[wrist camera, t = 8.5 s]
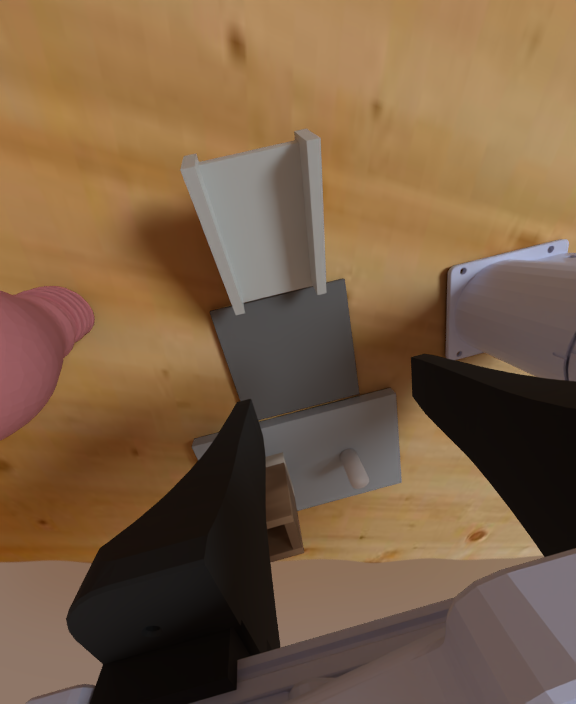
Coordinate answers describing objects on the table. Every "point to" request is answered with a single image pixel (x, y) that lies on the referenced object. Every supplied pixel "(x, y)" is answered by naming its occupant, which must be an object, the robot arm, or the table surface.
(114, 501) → the table surface
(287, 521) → the sleeve
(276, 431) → the pin board
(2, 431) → the light bulb
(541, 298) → the robot arm
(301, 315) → the mat
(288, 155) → the feeder chute
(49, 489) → the table surface
